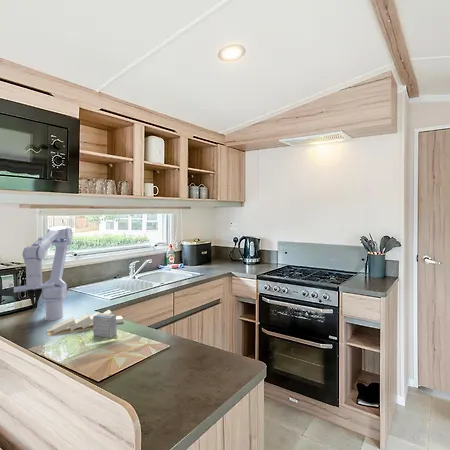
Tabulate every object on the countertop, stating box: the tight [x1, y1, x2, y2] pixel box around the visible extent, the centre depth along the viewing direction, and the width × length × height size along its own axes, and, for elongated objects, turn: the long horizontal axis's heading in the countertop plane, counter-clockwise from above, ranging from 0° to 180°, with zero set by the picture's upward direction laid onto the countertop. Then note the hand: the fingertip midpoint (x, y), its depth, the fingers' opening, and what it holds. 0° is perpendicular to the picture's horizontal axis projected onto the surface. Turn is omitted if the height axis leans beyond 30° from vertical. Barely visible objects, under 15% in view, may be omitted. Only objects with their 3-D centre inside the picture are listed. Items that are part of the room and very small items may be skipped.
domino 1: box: [51, 316, 76, 334], centre depth 139 cm, size 5×2×8 cm
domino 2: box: [69, 312, 91, 331], centre depth 142 cm, size 5×2×8 cm
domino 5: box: [116, 315, 124, 325], centre depth 149 cm, size 5×2×8 cm
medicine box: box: [92, 312, 118, 338], centre depth 134 cm, size 8×4×9 cm, turn 74°
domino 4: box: [101, 309, 113, 314], centre depth 146 cm, size 5×2×8 cm
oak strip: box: [46, 324, 93, 337], centre depth 142 cm, size 8×24×1 cm, turn 121°
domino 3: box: [81, 311, 100, 329], centre depth 144 cm, size 5×2×8 cm
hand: (34, 307), depth 138 cm, fingers closed
